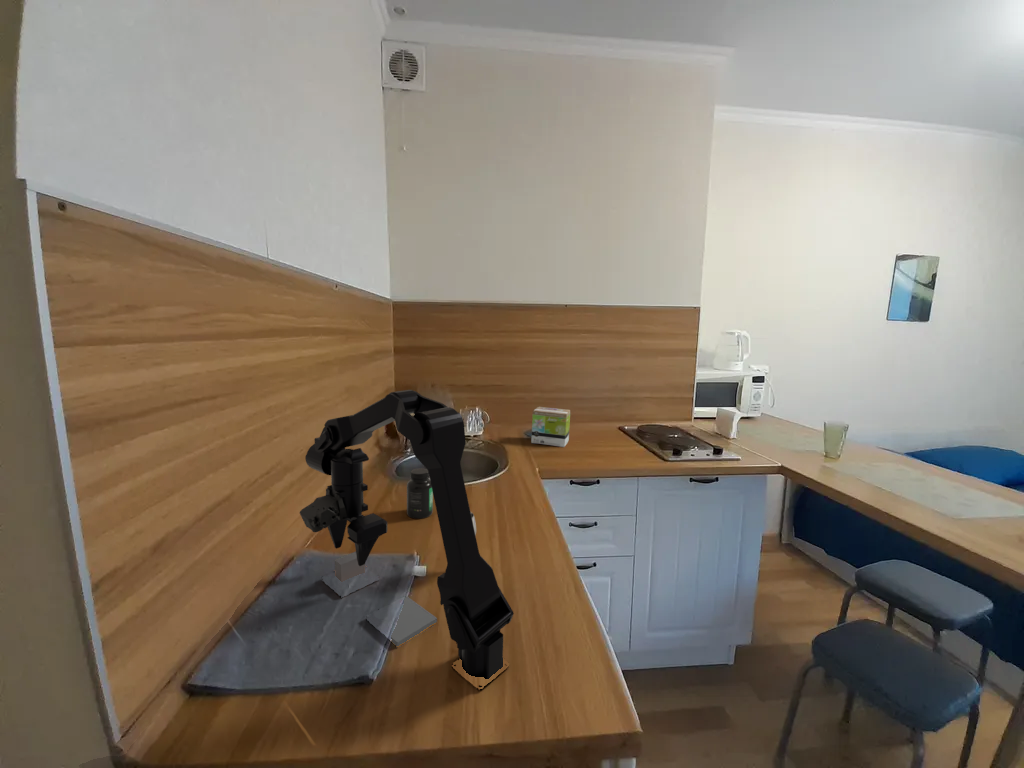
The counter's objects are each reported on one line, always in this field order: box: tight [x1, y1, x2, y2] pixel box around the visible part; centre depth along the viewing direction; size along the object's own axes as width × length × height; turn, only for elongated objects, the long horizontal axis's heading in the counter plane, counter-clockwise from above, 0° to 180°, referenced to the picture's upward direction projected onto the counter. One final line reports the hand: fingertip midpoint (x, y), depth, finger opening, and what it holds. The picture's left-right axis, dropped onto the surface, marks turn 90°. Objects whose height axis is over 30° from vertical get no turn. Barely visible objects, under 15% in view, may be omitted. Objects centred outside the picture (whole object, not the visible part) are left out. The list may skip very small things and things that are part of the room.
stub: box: [334, 551, 366, 582], centre depth 87 cm, size 8×8×5 cm
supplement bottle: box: [406, 467, 434, 520], centre depth 118 cm, size 7×7×12 cm
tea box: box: [530, 406, 571, 448], centre depth 191 cm, size 15×10×15 cm
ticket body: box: [391, 595, 438, 646], centre depth 76 cm, size 9×8×1 cm
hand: (349, 556), depth 87 cm, fingers open, 9 cm apart
